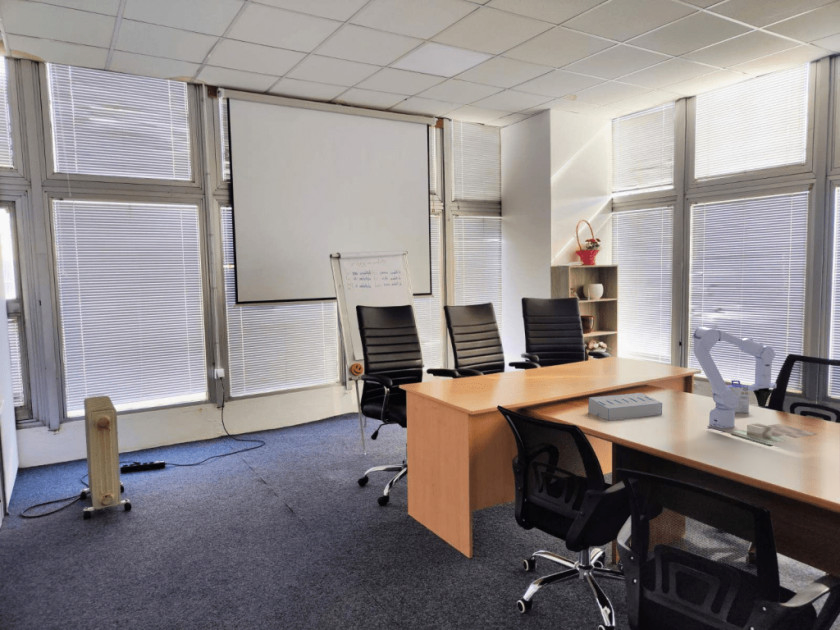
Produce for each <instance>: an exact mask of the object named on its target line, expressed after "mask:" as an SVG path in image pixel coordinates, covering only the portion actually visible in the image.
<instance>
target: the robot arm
mask: <svg viewBox="0 0 840 630" xmlns="http://www.w3.org/2000/svg"><path fill="white" fill-rule="evenodd" d="M692 339H693V353H694V355H695V358H696V360H697V362H698V363H699V365H700V367H701V369H702V371H703V373H704V374H705V377H706V379H707V381H708V382H709V384H710V386H711V393H712V400H713V401H714V403H715V407H714V408H713V409H711V410H710V412H709V420H708V421H709V424H708V425H707V428H710V429H712V430H715V431H716V430H717V431H720V432H722V433H723V432H724V433H725V432H726V431H725V430H723V429H726V428H734V427H735V420H736V419H735V418H736V412H735V408H736V407H737V406H738V404H739V399H738V397H737V396H736V395H734V394H733V392H732V391H731V389H730V388H729V387H728V386H727V385H728V384H726V382H725V380H724V379H723V377H722V375H721V373H720V371H719V369H718V367H717V364H716V362H715V361H714V359H713V357H712V356H711V353H710V352H711V349H712V348H713V347H714V346H715V345H716V344H717V343H718V342H722V341H723V342H725V343H727V344H732V345H734V346H736V347H737V348H738V350H739V351H740V352H743V353H745V354H748V355H750V356H753V357H754V358H755V365H754V366H755V370H754V383H752V384H751V385H747V386H748V390H749V392H750V391H751V392H753V394H754V395H755V398H756V401H757V405H758V407H762V408H764V407H766V405H767V402H768V399H769V397H770V396H771V394H772V393H773V390H772V389H777V383H776V382H772V364H773V361H774V358H775V357H776V353H775V350H774V349H773V348H772V347H771V346H767V345H764V343H762V342H758V341H755V340H754V338H752V337H748V338H747V337H744V338H740V337H737V336H735V335H732V334H730V333H729V332H726V331H724V330H720V329H715V328H712V327H711V328H710V327H706V326H699V327H696V328H695V330H694V332H693V334H692ZM718 428H719V429H718Z"/></svg>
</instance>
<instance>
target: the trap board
mask: <svg viewBox="0 0 840 630" xmlns="http://www.w3.org/2000/svg"><path fill="white" fill-rule="evenodd" d="M767 426H771V427H772V437H768V438H762V439H760V438H757V437H753V436H750V435H747V428H746V429H739V430H733V431H732V430H731V432H732V433H731V436H733V437H736V438H740V439H744V440H747V441H750V442H754V443H756V444H759V445H764V446H767V447H774V445H772V444H770V443H775V442H781V441H786V439H784V438H781V437H780V436H787V437H791V438H796V439H799V438H803V437H804V438H805V437H808V436H809V437H810V436H815V435H818V433H816V432H812V431H807V430H804V429H800V428H796V427H792V426H789V425H784V424H781V423H775V424H774V423H773V424H768V425H767ZM738 434H739V435H738Z"/></svg>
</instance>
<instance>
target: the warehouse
mask: <svg viewBox="0 0 840 630" xmlns="http://www.w3.org/2000/svg"><path fill="white" fill-rule="evenodd" d="M587 407H588V409H587V410H588V411H587V412H588V414H591V415H593V416H596V417H599V418H602V419H604V420H607V421H613V420H624V419H631V418H641V417H647V416H648V417H650V416H658V415H663V402H661V401H659V400H657V399H655V398H652V397H650V396H648V395H647V394H644V393H642V392H635V393H625V394H612V395H603V396H601V395H600V396H592V397H588V406H587Z"/></svg>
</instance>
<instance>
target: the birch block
mask: <svg viewBox="0 0 840 630" xmlns="http://www.w3.org/2000/svg"><path fill="white" fill-rule="evenodd" d="M746 429H747V435H750V436H753V437H757V438H760V439H762V438H768V437H772V427H771V426H768V425H767V424H762V423H759V422H756V423H755V422H754V423H750V424H746Z"/></svg>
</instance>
